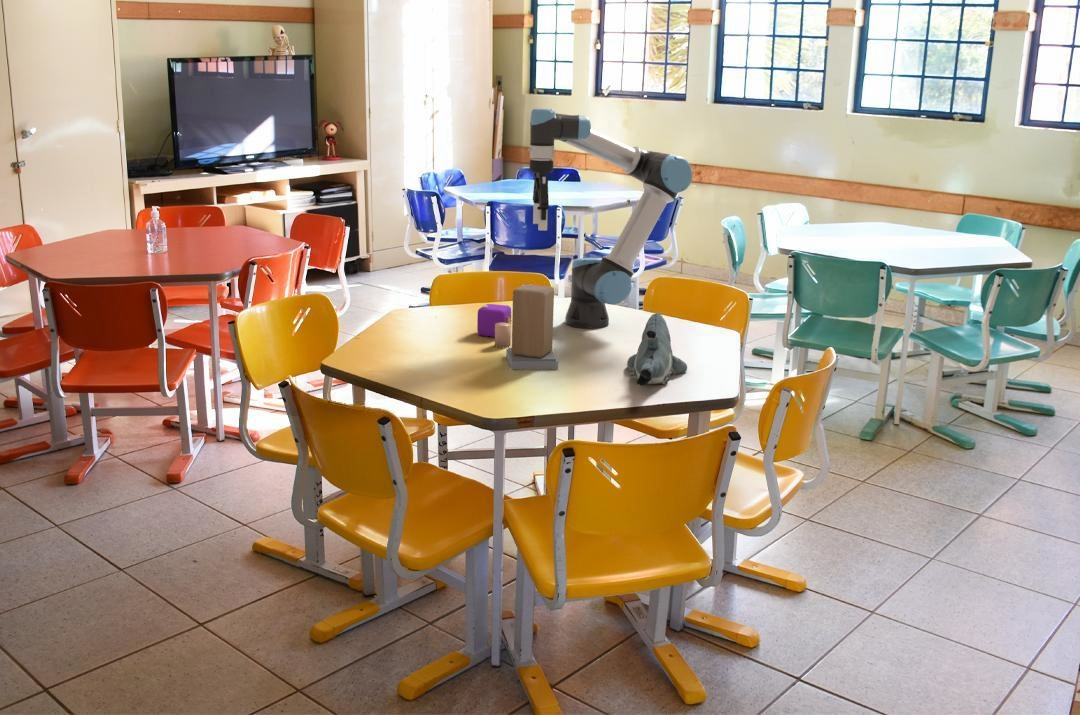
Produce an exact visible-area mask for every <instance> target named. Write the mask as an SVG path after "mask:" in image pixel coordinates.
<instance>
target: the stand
mask: <svg viewBox="0 0 1080 715" xmlns="http://www.w3.org/2000/svg"><path fill="white" fill-rule="evenodd" d="M505 349H506V353H505V354H506V356H505V357H506V360H507V363H508V367H509V369H510V368H511V369H532V370H558V369H559V360H558V359H557V357H556V354H555V352H554V350H553V349H552V350H551V351H550V352H549V353H548V354H546V355H545V356H543V357H542V358H536V357H528V356H520V355H514V354H512V347H508V348H505ZM511 369H510V370H511Z"/></svg>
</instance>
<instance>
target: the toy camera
mask: <svg viewBox="0 0 1080 715" xmlns="http://www.w3.org/2000/svg"><path fill="white" fill-rule="evenodd" d="M476 321H477V323H476V324H477V326H476V328H477V334H478V335H479V336H481V337H488V336H490V337H492V338H495V324H496V323H509V324H511V325H512V307H511V306H510V305H504V304H495V303H494V304H493V303H486V304H484V305H482V306H481V307H480V308H478V309H477V320H476Z"/></svg>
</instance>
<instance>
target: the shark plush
mask: <svg viewBox="0 0 1080 715" xmlns="http://www.w3.org/2000/svg"><path fill="white" fill-rule="evenodd" d="M671 342H672V341H671V335H670V331H669V328H668V324H667V321H666V320H665V318H664V317H663V315H662V314H661V313H659V312H655V313H653V314H652V315H650V317H649V318H648V319H647V321H646V324H645V327H644V329H643V332H642V335H641V341H640V343H639V346H638V347H637V348H638V349H637V352H636V353H634V354H632V355H631V356H629V358H628V359H627V363H626V366H627V368H628V371H630V377H631V378H633V379H636V378H637V380H636V384H637V386H645V385H656V384H662V385H667V384H668V382H669V378H670V376H671V373H672V374H675V375H678V374H684V373H686V372H687V370H688V364H687V363H686V362H685V361H684V360H682V359H681V358H679V357H677V356H675V355H673V349H672V344H671ZM685 371H686V372H685ZM683 372H684V373H683Z"/></svg>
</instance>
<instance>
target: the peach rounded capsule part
mask: <svg viewBox="0 0 1080 715" xmlns="http://www.w3.org/2000/svg"><path fill="white" fill-rule="evenodd" d="M511 345H512V323H511V324H509V323H496V324H495V337H494V347H495V346H497V347H496V348H498V347H508V348H510V347H511ZM509 346H510V347H509Z"/></svg>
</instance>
